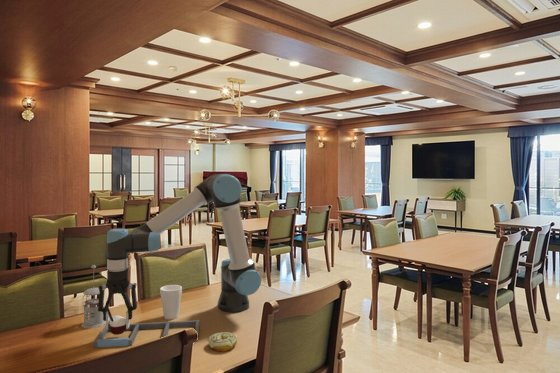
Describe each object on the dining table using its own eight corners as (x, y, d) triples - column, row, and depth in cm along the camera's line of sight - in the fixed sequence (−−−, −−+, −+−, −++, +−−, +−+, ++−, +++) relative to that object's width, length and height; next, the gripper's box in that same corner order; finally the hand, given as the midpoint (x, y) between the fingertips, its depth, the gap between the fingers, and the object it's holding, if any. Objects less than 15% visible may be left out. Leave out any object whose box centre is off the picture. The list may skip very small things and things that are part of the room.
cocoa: (128, 329, 160) (129, 299, 160) (130, 334, 154) (132, 303, 155) (102, 332, 155) (103, 301, 155) (104, 338, 150) (105, 305, 150)
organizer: (199, 324, 169) (199, 319, 169) (197, 341, 152) (197, 334, 152) (106, 329, 163) (106, 323, 162) (94, 347, 146) (94, 341, 146)
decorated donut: (207, 353, 143) (207, 342, 143) (210, 340, 154) (210, 330, 154) (236, 352, 144) (236, 341, 144) (237, 339, 155) (237, 330, 154)
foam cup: (176, 321, 172) (175, 291, 172) (156, 319, 174) (156, 290, 174) (185, 313, 182) (185, 285, 181) (166, 312, 183) (166, 284, 183)
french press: (90, 330, 162) (89, 269, 161) (73, 324, 168) (73, 265, 168) (111, 322, 171) (111, 264, 170) (95, 317, 177) (94, 261, 176)
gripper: (145, 266, 159) (145, 323, 160) (93, 267, 156) (94, 325, 157) (142, 270, 152) (142, 330, 153) (87, 272, 149) (88, 333, 150)
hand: (118, 327), depth 155 cm, fingers closed on cocoa, 7 cm apart
